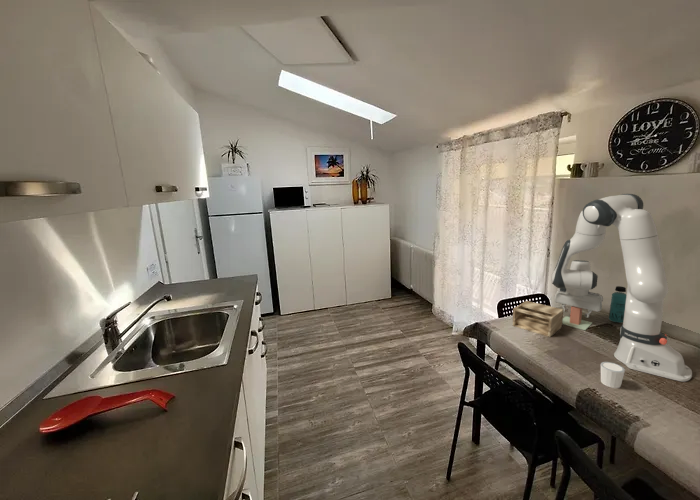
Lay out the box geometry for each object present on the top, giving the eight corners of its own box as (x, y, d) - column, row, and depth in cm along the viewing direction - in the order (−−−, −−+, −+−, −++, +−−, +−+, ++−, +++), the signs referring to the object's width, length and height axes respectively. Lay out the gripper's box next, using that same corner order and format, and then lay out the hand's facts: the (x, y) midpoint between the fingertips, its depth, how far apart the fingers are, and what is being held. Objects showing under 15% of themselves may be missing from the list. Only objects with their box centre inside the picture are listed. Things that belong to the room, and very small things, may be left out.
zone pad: (592, 323, 160) (592, 322, 160) (585, 330, 153) (585, 329, 152) (566, 316, 169) (566, 316, 169) (558, 323, 162) (558, 322, 162)
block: (581, 322, 160) (582, 306, 159) (578, 324, 158) (580, 308, 156) (572, 320, 163) (573, 304, 162) (569, 322, 161) (571, 306, 159)
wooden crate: (561, 327, 157) (563, 309, 155) (550, 337, 148) (551, 318, 146) (525, 317, 171) (526, 300, 169) (512, 325, 162) (513, 308, 160)
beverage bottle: (605, 320, 162) (609, 285, 159) (618, 320, 161) (623, 284, 158) (613, 325, 156) (618, 289, 152) (628, 325, 155) (632, 288, 151)
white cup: (616, 391, 108) (618, 374, 106) (594, 381, 114) (596, 364, 113) (626, 385, 110) (629, 368, 109) (605, 375, 117) (607, 359, 115)
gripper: (605, 292, 151) (602, 318, 153) (558, 284, 167) (556, 307, 170) (601, 295, 147) (598, 322, 150) (554, 287, 163) (552, 310, 166)
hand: (576, 314), depth 160 cm, fingers open, 8 cm apart
